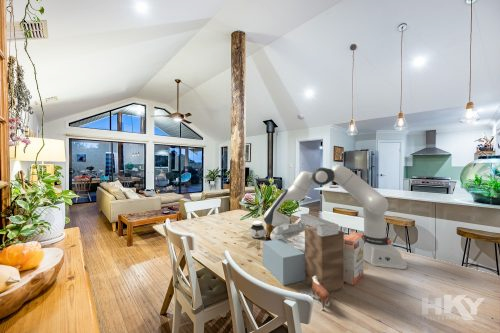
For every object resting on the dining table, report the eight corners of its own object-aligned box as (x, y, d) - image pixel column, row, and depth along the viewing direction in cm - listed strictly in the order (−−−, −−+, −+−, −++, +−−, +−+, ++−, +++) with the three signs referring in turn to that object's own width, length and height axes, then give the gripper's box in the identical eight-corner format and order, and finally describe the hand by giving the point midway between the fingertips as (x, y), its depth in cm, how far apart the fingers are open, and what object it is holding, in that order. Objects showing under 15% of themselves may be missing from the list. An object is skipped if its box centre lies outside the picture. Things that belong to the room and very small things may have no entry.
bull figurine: (317, 291, 96) (317, 273, 96) (332, 312, 83) (332, 291, 83) (307, 292, 96) (307, 273, 95) (321, 313, 82) (321, 292, 82)
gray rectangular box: (262, 264, 121) (262, 241, 121) (281, 260, 126) (281, 238, 125) (283, 285, 101) (283, 257, 100) (304, 280, 105) (304, 253, 105)
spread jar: (249, 238, 164) (249, 222, 163) (256, 233, 174) (255, 219, 173) (263, 240, 158) (263, 224, 158) (269, 235, 168) (269, 221, 168)
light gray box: (292, 222, 111) (292, 215, 111) (307, 221, 115) (307, 213, 115) (321, 236, 91) (321, 227, 91) (338, 233, 94) (338, 224, 94)
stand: (305, 281, 104) (304, 227, 103) (324, 276, 109) (324, 224, 108) (322, 295, 93) (322, 235, 92) (343, 289, 97) (343, 231, 97)
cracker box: (354, 286, 100) (355, 241, 99) (341, 281, 104) (341, 238, 103) (364, 274, 110) (364, 233, 109) (352, 270, 114) (352, 231, 113)
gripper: (268, 228, 129) (278, 221, 118) (297, 224, 137) (309, 217, 126) (271, 239, 126) (281, 233, 115) (300, 234, 134) (313, 228, 123)
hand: (296, 225), depth 120 cm, fingers open, 8 cm apart
